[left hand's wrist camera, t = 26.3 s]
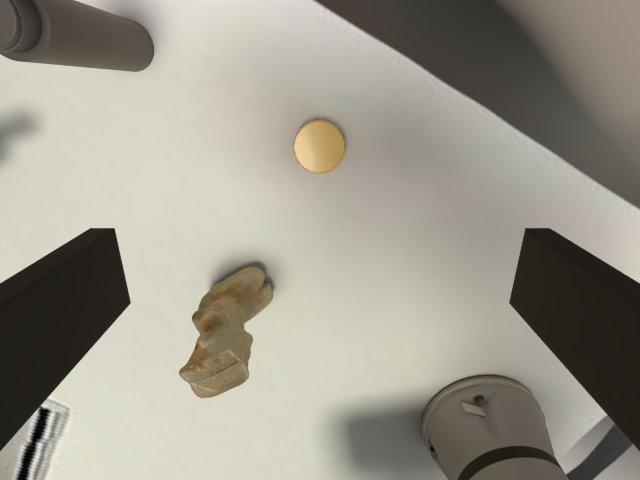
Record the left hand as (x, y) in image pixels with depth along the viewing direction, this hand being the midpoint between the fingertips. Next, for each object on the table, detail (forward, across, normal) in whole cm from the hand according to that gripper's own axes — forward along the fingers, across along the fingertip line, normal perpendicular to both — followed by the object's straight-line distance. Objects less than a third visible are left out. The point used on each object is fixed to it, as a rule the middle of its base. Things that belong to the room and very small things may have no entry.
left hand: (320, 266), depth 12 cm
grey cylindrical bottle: (+27, +17, -9) cm, 33 cm away
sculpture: (+27, +9, +15) cm, 32 cm away
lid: (+25, 0, 0) cm, 25 cm away
